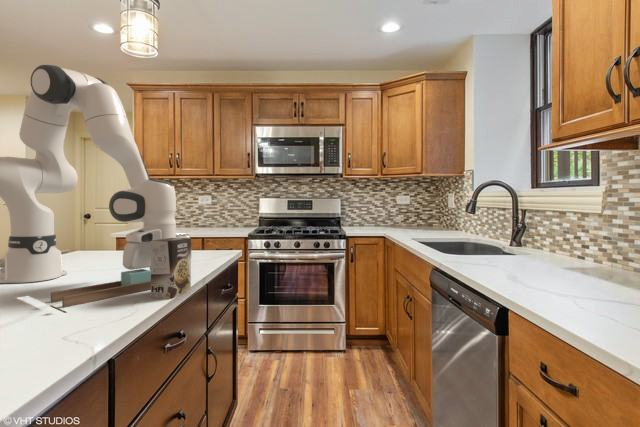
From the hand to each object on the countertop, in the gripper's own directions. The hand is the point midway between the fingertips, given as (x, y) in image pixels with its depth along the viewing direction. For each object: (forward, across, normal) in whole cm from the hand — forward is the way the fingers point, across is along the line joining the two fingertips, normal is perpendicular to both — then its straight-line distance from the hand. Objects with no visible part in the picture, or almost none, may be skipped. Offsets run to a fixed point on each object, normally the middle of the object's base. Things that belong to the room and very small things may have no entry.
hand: (159, 280), depth 105 cm
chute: (+2, +14, 0) cm, 14 cm away
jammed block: (+1, +7, 0) cm, 7 cm away
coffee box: (+3, +4, +12) cm, 13 cm away
